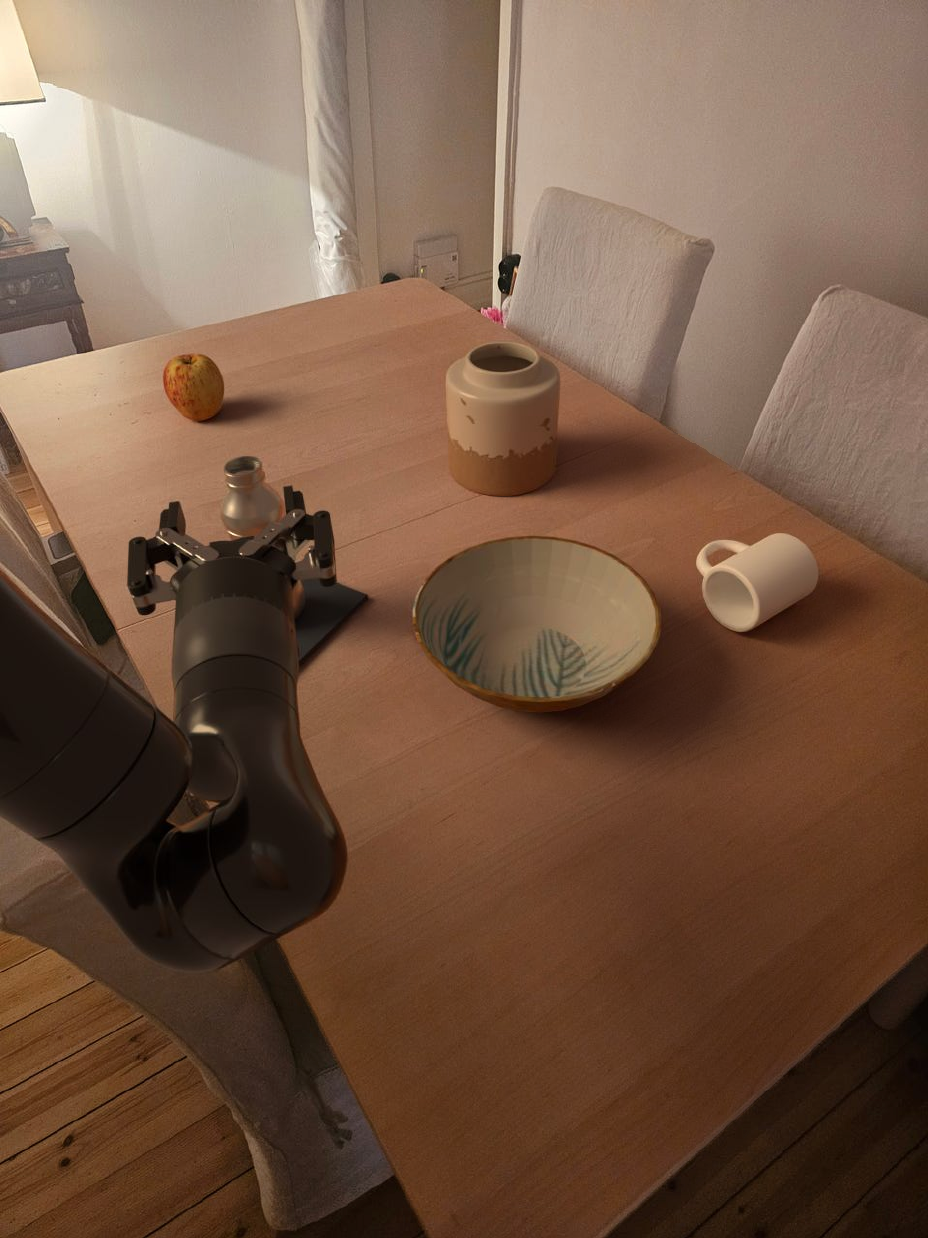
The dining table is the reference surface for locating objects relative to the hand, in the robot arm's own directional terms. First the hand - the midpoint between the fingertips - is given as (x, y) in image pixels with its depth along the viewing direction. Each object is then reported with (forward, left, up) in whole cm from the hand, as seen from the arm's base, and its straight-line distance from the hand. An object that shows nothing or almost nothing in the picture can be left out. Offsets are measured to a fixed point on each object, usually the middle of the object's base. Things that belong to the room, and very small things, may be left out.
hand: (234, 503), depth 63 cm
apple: (+45, +56, -28) cm, 77 cm away
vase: (+54, +6, -28) cm, 61 cm away
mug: (+42, -32, -28) cm, 60 cm away
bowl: (+21, -16, -28) cm, 39 cm away
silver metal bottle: (+13, +13, -27) cm, 33 cm away
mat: (+13, +13, -28) cm, 33 cm away
